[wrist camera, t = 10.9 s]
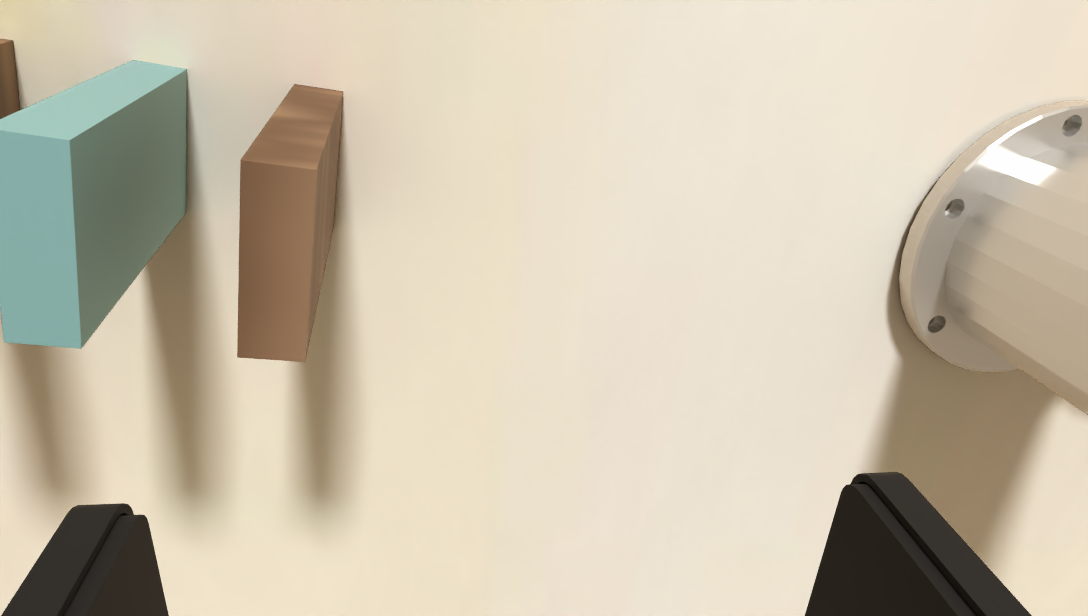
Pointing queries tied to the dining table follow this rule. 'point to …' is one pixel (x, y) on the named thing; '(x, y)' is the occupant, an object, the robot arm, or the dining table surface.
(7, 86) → the domino
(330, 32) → the dining table surface
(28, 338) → the domino
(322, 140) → the domino
